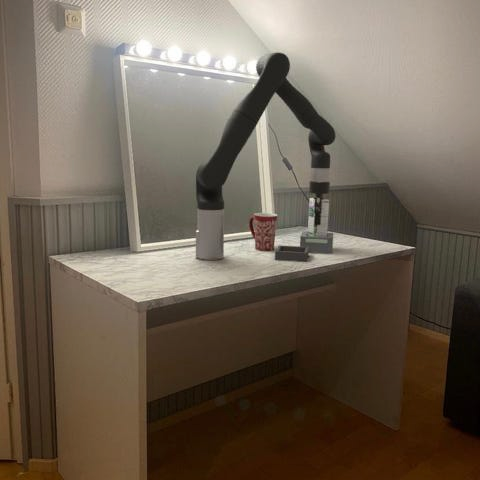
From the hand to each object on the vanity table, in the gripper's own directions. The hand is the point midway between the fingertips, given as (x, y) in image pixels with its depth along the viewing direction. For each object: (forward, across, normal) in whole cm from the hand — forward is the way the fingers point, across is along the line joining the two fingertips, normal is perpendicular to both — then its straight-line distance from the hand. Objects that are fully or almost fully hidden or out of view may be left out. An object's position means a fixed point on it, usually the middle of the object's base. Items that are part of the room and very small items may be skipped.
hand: (317, 223), depth 188 cm
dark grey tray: (+10, +16, -8) cm, 21 cm away
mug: (+11, +3, -21) cm, 24 cm away
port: (+10, 0, 0) cm, 10 cm away
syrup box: (+5, 0, 0) cm, 5 cm away
